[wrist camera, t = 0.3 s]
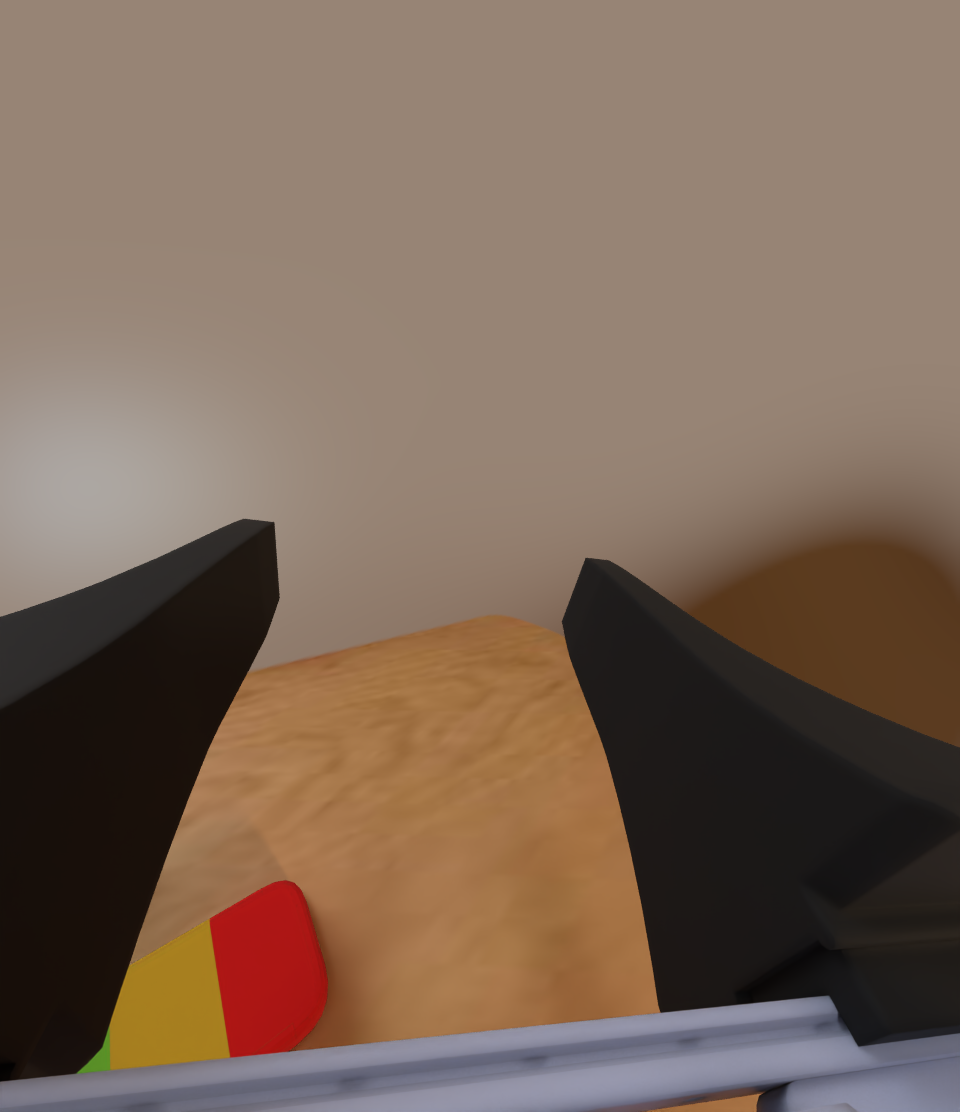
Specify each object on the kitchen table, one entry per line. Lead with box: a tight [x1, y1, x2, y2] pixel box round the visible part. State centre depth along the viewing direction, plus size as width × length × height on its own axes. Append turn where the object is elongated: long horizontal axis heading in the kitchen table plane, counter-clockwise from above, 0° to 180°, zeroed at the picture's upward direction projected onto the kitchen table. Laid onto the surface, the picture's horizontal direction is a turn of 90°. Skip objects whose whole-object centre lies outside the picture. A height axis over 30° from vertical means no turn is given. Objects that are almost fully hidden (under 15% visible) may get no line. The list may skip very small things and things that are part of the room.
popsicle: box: [77, 880, 328, 1074], centre depth 14 cm, size 6×15×2 cm, turn 125°
